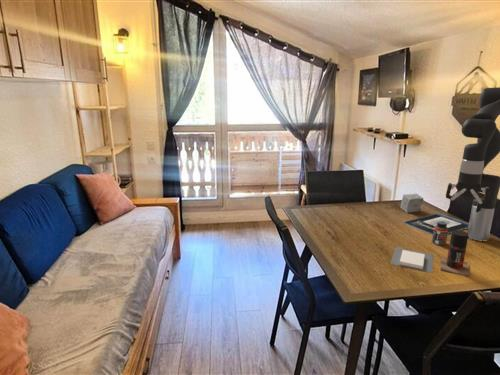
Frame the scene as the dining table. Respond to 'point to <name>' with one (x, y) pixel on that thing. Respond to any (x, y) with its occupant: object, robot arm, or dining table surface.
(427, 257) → the mat
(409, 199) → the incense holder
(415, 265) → the tile
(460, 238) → the deodorant
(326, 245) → the dining table surface
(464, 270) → the rest board
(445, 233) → the supplement bottle
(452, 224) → the dark picture frame
